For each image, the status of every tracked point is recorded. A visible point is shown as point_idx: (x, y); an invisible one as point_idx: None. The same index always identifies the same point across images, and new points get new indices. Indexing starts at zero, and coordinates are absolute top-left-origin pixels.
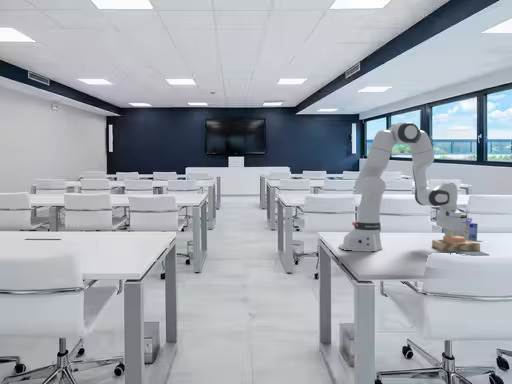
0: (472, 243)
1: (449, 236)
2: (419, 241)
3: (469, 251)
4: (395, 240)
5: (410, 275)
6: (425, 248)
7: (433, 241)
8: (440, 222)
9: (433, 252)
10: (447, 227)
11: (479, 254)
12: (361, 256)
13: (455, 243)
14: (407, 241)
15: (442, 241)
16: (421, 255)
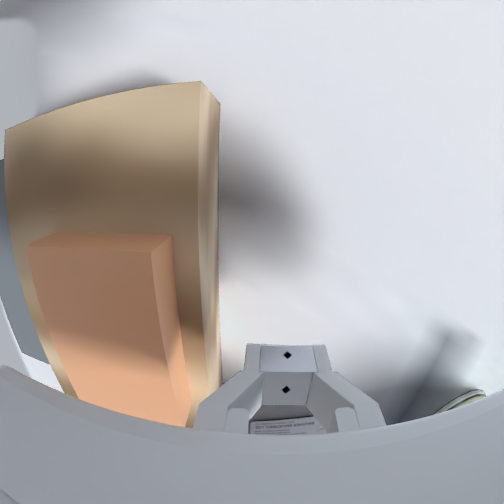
0: (59, 381)
1: (144, 335)
2: (490, 154)
3: None
4: (499, 22)
5: None
6: (166, 27)
7: (166, 89)
8: (496, 467)
9: (38, 66)
10: (138, 447)
11: (7, 313)
12: None
13: (16, 261)
14: (486, 62)
15: (78, 176)
16: (17, 9)
